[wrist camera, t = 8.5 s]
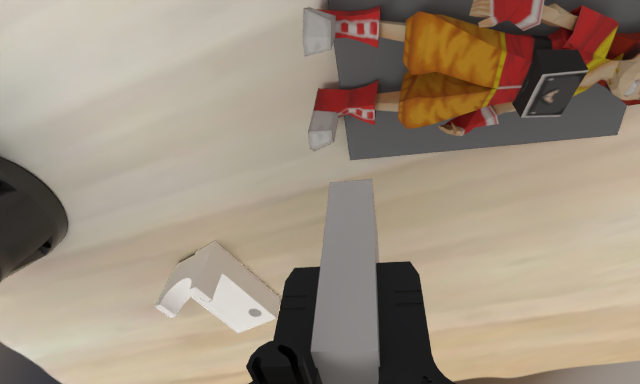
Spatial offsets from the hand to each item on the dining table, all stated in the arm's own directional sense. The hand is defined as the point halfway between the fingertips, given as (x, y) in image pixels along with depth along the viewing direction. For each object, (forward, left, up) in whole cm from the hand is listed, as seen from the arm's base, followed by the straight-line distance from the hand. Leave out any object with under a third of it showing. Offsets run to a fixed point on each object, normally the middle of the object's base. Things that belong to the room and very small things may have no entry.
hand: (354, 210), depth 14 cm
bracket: (-21, -29, -23) cm, 42 cm away
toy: (-4, -1, -18) cm, 19 cm away
